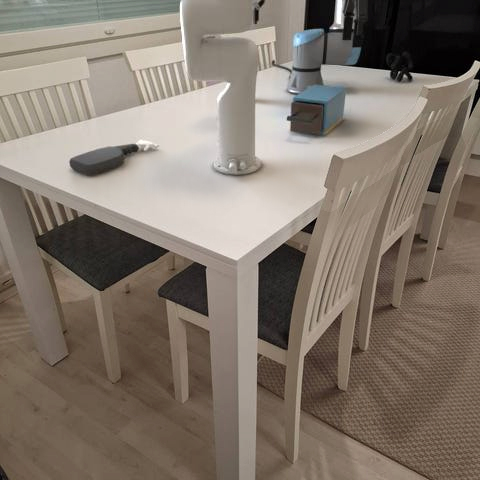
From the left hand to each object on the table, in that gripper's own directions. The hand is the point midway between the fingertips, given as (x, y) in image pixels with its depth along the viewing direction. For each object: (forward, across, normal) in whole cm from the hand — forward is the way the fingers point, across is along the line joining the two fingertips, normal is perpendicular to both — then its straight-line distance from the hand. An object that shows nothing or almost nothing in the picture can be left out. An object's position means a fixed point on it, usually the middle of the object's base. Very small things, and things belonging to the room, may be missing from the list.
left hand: (239, 24), depth 139 cm
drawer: (+29, +20, -16) cm, 39 cm away
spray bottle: (+30, -39, -31) cm, 58 cm away
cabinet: (+30, +24, -11) cm, 40 cm away
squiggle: (+30, +78, +44) cm, 95 cm away
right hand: (+5, +32, -12) cm, 35 cm away
